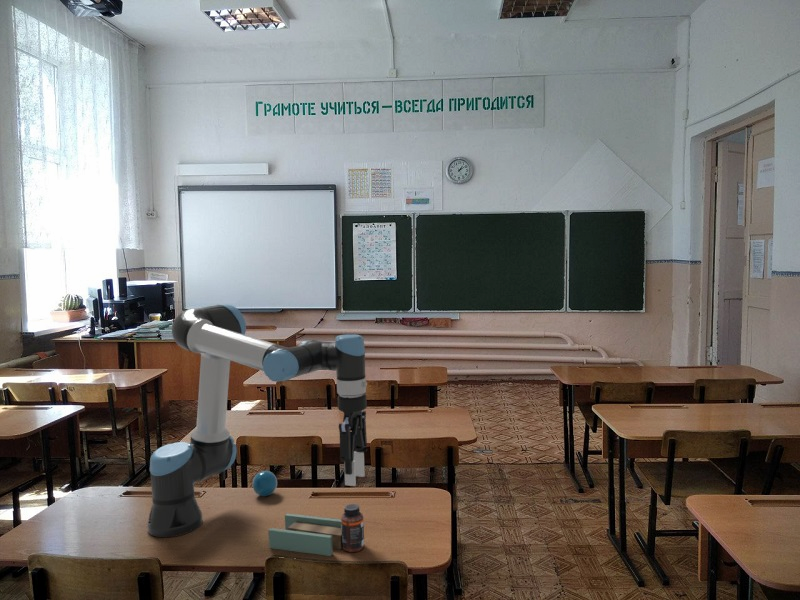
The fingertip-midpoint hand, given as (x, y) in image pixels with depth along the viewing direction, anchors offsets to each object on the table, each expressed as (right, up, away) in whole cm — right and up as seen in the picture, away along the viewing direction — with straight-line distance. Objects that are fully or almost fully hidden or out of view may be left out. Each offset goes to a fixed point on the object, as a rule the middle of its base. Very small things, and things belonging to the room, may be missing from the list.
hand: (355, 480), depth 158 cm
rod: (-11, -19, +7) cm, 23 cm away
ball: (-32, -17, +39) cm, 53 cm away
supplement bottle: (-1, -19, +2) cm, 19 cm away
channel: (-13, -19, +6) cm, 24 cm away
